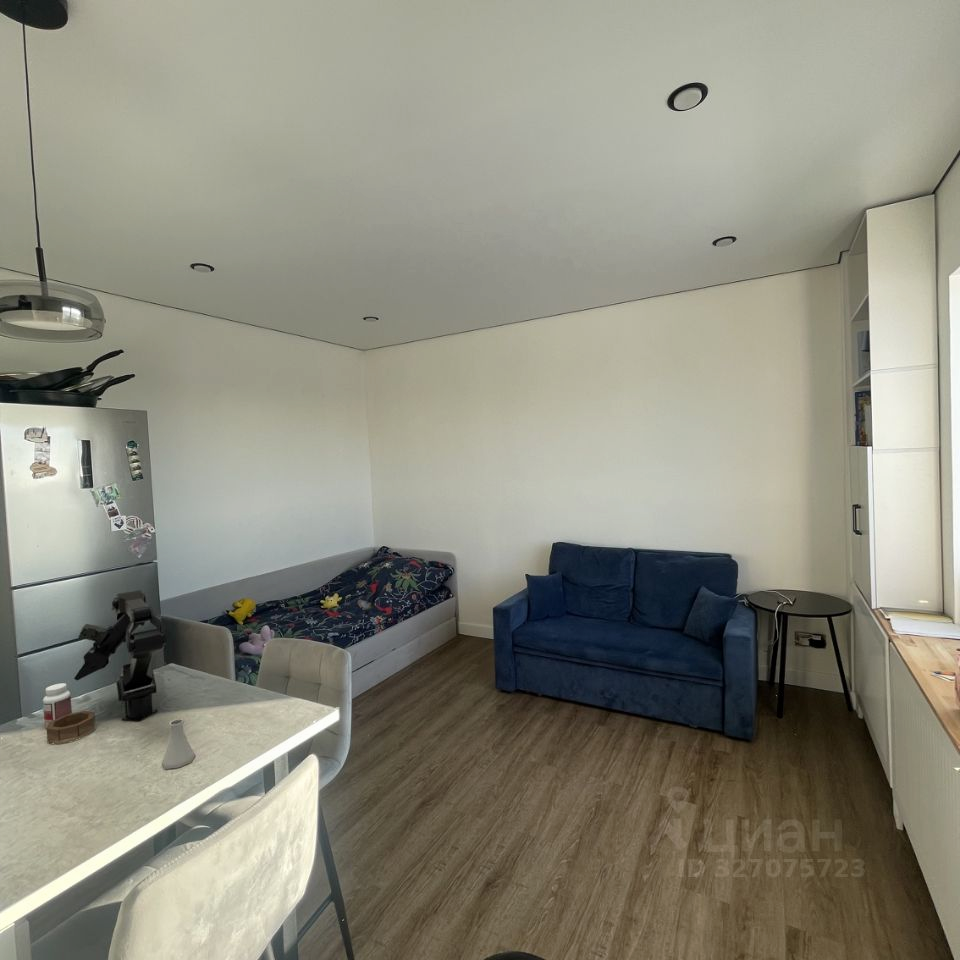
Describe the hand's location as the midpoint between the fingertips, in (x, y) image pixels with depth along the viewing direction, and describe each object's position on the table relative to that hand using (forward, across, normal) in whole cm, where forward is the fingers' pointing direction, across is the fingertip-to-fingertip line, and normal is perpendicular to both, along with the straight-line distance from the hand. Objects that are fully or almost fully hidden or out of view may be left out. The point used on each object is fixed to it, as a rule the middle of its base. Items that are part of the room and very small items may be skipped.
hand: (79, 673), depth 150 cm
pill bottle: (+14, 0, +6) cm, 15 cm away
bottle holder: (+10, +9, +9) cm, 16 cm away
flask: (-9, +40, +29) cm, 50 cm away
